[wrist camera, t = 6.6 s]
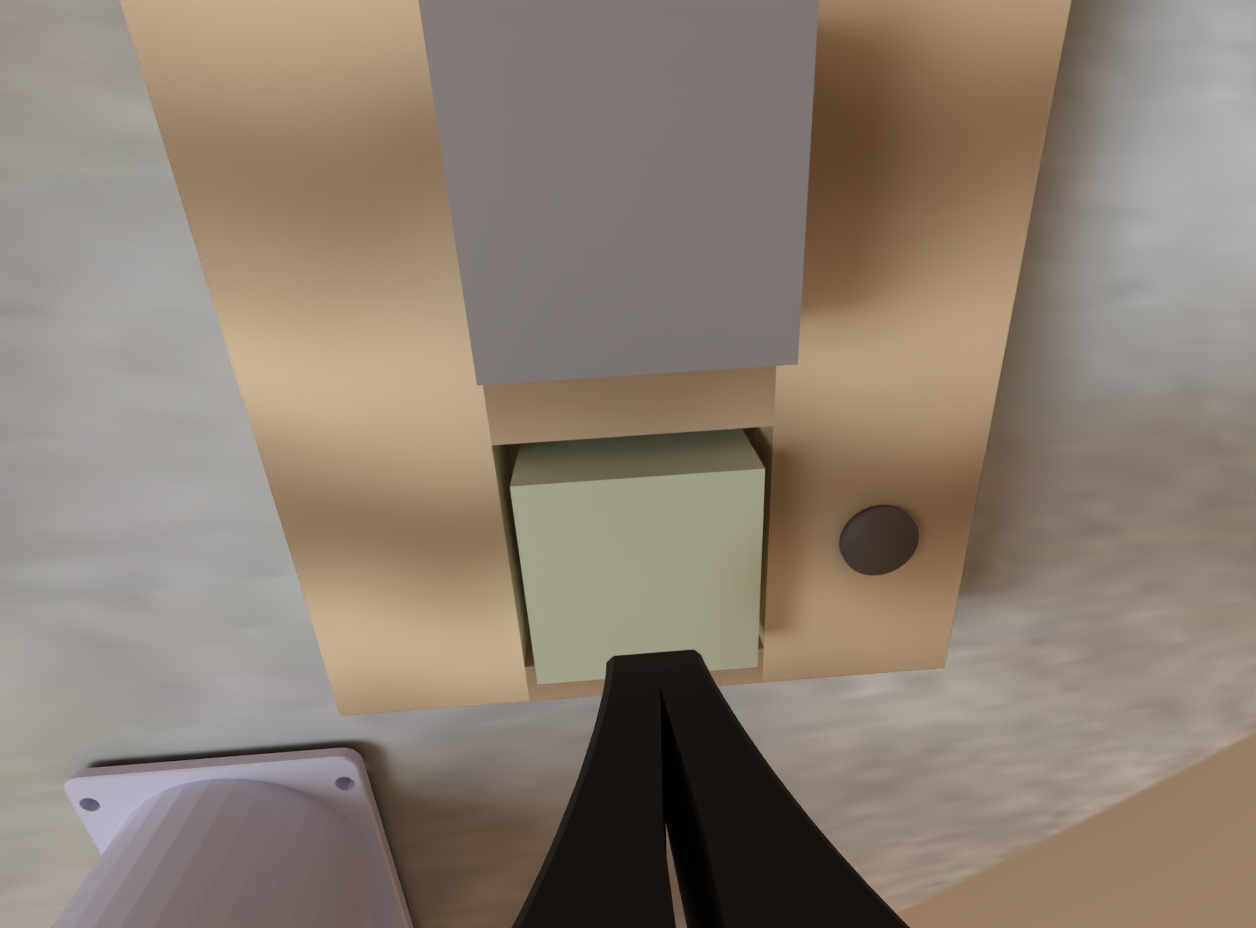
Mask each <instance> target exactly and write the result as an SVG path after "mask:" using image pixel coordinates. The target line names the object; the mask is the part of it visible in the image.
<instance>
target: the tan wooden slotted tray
mask: <svg viewBox="0 0 1256 928" xmlns="http://www.w3.org/2000/svg"><path fill="white" fill-rule="evenodd" d="M120 3H121V6H122V9H123V13H124V16H125V19H126V22H127V26H128V29H129V32H130V35H131V39H132V42H133V45H134V48H135V52H136V55H137V58H138V61H139V64H140V68H141V71H142V74H143V77H144V81H145V84H146V87H147V90H148V94H149V97H150V100H151V103H152V107H153V110H154V113H155V116H156V120H157V123H158V126H159V129H160V132H161V136H162V139H163V142H164V145H165V149H166V152H167V155H168V158H169V162H170V165H171V168H172V171H173V175H174V178H175V181H176V184H177V188H178V191H179V194H180V197H181V200H182V204H183V207H184V210H185V213H186V217H187V220H188V223H189V226H190V230H191V233H192V236H193V239H194V243H195V246H196V249H197V252H198V256H199V259H200V262H201V265H202V268H203V272H204V275H205V278H206V281H207V285H208V288H209V291H210V294H211V298H212V301H213V304H214V307H215V311H216V314H217V317H218V320H219V324H220V327H221V330H222V333H223V336H224V340H225V343H226V346H227V349H228V353H229V356H230V359H231V362H232V366H233V369H234V372H235V375H236V379H237V382H238V385H239V388H240V392H241V395H242V398H243V401H244V404H245V408H246V411H247V414H248V417H249V421H250V424H251V427H252V430H253V434H254V437H255V440H256V443H257V447H258V450H259V453H260V456H261V459H262V463H263V466H264V469H265V472H266V476H267V479H268V482H269V485H270V489H271V492H272V495H273V498H274V502H275V505H276V508H277V511H278V515H279V518H280V521H281V524H282V527H283V531H284V534H285V537H286V540H287V544H288V547H289V550H290V553H291V557H292V560H293V563H294V566H295V570H296V573H297V576H298V579H299V583H300V586H301V589H302V592H303V595H304V599H305V602H306V605H307V608H308V612H309V615H310V618H311V621H312V625H313V628H314V631H315V634H316V638H317V641H318V644H319V647H320V651H321V654H322V657H323V660H324V663H325V667H326V670H327V673H328V676H329V680H330V683H331V686H332V689H333V693H334V696H335V699H336V702H337V706H338V709H339V712H340V715H341V716H348V715H360V714H373V713H385V712H398V711H410V710H423V709H435V708H448V707H460V706H473V705H485V704H498V703H511V702H523V701H536V700H548V699H561V698H573V697H586V696H598V695H602V694H603V689H604V683H605V679H600V680H587V681H575V682H562V683H549V684H537V677H536V670H535V663H534V656H533V649H532V641H531V634H530V627H529V620H528V613H527V606H526V598H525V591H524V584H523V577H522V570H521V563H520V556H519V548H518V541H517V534H516V527H515V520H514V513H513V506H512V498H511V491H510V484H511V480H512V475H513V471H514V467H515V463H516V458H517V454H518V450H519V445H520V443H533V442H548V441H562V440H577V439H592V438H606V437H621V436H636V435H650V434H665V433H680V432H694V431H709V430H724V429H738V428H742V429H743V431H744V433H745V434H746V436H747V438H748V440H749V441H750V443H751V445H752V447H753V448H754V450H755V452H756V454H757V455H758V457H759V459H760V461H761V462H762V464H763V466H764V468H765V485H764V510H763V536H762V561H761V586H760V612H759V637H758V663H757V667H752V668H739V669H726V670H714V671H709V672H710V674H711V676H712V678H713V679H714V681H715V683H716V685H717V686H724V685H736V684H749V683H761V682H774V681H786V680H799V679H812V678H824V677H837V676H849V675H862V674H874V673H887V672H899V671H912V670H924V669H937V668H944V667H945V662H946V657H947V651H948V646H949V641H950V636H951V630H952V625H953V620H954V615H955V609H956V604H957V599H958V594H959V588H960V583H961V578H962V573H963V567H964V562H965V557H966V552H967V546H968V541H969V536H970V531H971V525H972V520H973V515H974V510H975V504H976V499H977V494H978V489H979V483H980V478H981V473H982V468H983V462H984V457H985V452H986V447H987V441H988V436H989V431H990V426H991V420H992V415H993V410H994V405H995V399H996V394H997V389H998V384H999V378H1000V373H1001V368H1002V363H1003V357H1004V352H1005V347H1006V342H1007V336H1008V331H1009V326H1010V321H1011V315H1012V310H1013V305H1014V300H1015V294H1016V289H1017V284H1018V279H1019V273H1020V268H1021V263H1022V258H1023V252H1024V247H1025V242H1026V237H1027V231H1028V226H1029V221H1030V216H1031V210H1032V205H1033V200H1034V195H1035V189H1036V184H1037V179H1038V174H1039V168H1040V163H1041V158H1042V153H1043V147H1044V142H1045V137H1046V132H1047V126H1048V121H1049V116H1050V111H1051V105H1052V100H1053V95H1054V90H1055V84H1056V79H1057V74H1058V69H1059V63H1060V58H1061V53H1062V48H1063V42H1064V37H1065V32H1066V27H1067V21H1068V16H1069V11H1070V6H1071V0H819V8H818V25H817V42H816V59H815V77H814V94H813V111H812V128H811V146H810V163H809V180H808V197H807V215H806V232H805V249H804V266H803V284H802V301H801V318H800V336H799V353H798V365H782V366H767V367H752V368H737V369H721V370H706V371H691V372H676V373H660V374H645V375H630V376H615V377H599V378H584V379H569V380H554V381H538V382H523V383H508V384H493V385H477V382H476V376H475V369H474V363H473V356H472V349H471V343H470V336H469V330H468V323H467V317H466V310H465V303H464V297H463V290H462V284H461V277H460V271H459V264H458V257H457V251H456V244H455V238H454V231H453V225H452V218H451V211H450V205H449V198H448V192H447V185H446V179H445V172H444V165H443V159H442V152H441V146H440V139H439V133H438V126H437V119H436V113H435V106H434V100H433V93H432V87H431V80H430V73H429V67H428V60H427V54H426V47H425V41H424V34H423V27H422V21H421V14H420V8H419V1H418V0H120Z"/></svg>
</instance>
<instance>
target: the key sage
mask: <svg viewBox="0 0 1256 928" xmlns="http://www.w3.org/2000/svg"><path fill="white" fill-rule="evenodd" d="M764 485H765V468H764V466H763V464H762V462H761V461H760V459H759V457H758V455H757V454H756V452H755V450H754V448H753V447H752V445H751V443H750V441H749V440H748V438H747V436H746V434H745V433H744V431H743V429H742V428H738V429H724V430H709V431H694V432H680V433H665V434H650V435H636V436H621V437H606V438H592V439H577V440H562V441H548V442H533V443H520V445H519V450H518V454H517V458H516V463H515V467H514V471H513V475H512V480H511V484H510V491H511V498H512V506H513V513H514V520H515V527H516V534H517V541H518V548H519V556H520V563H521V570H522V577H523V584H524V591H525V598H526V606H527V613H528V620H529V627H530V634H531V641H532V649H533V656H534V663H535V670H536V677H537V684H549V683H562V682H575V681H587V680H600V679H605V676H606V662H607V661H608V660H610V659H611V658H612V657H613V656H617V655H630V654H642V653H654V652H667V651H679V650H692V649H694V650H696V651H697V652H698V653H699V654H701V655H702V658H703V660H704V662H705V664H706V666H707V668H708V670H709V671H714V670H726V669H739V668H752V667H757V663H758V637H759V612H760V586H761V561H762V536H763V510H764Z"/></svg>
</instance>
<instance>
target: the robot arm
mask: <svg viewBox="0 0 1256 928" xmlns="http://www.w3.org/2000/svg"><path fill="white" fill-rule="evenodd" d="M346 777H348V778H346ZM64 789H65V792H66V794H67V796H68V798H69V800H70V801H71V803H72V805H73V807H74V808H75V810H76V812H77V814H78V815H79V817H80V819H81V820H82V822H83V824H84V826H85V827H86V829H87V831H88V833H89V834H90V836H91V838H92V840H93V841H94V843H95V845H96V846H97V848H98V850H99V852H100V853H101V855H102V856H101V857H100V858H99V860H98V861H97V863H96V864H95V866H94V867H93V868H92V870H91V871H90V873H89V874H88V876H87V877H86V878H85V880H84V881H83V883H82V884H81V886H80V887H79V889H78V890H77V891H76V893H75V894H74V896H73V897H72V899H71V900H70V901H69V903H68V904H67V906H66V907H65V909H64V910H63V912H62V913H61V914H60V916H59V917H58V919H57V920H56V922H55V923H54V924H53V926H52V927H51V928H414V927H413V924H412V921H411V917H410V914H409V911H408V907H407V904H406V901H405V898H404V894H403V891H402V888H401V884H400V881H399V878H398V874H397V871H396V868H395V864H394V861H393V858H392V854H391V851H390V848H389V844H388V841H387V838H386V834H385V831H384V828H383V824H382V821H381V818H380V815H379V811H378V808H377V805H376V801H375V798H374V795H373V791H372V788H371V785H370V781H369V778H368V775H367V771H366V768H365V765H364V761H363V759H362V757H361V755H360V754H359V753H358V752H356V751H355V750H353V749H350V748H330V749H318V750H305V751H293V752H281V753H268V754H256V755H244V756H231V757H219V758H207V759H194V760H182V761H170V762H157V763H145V764H133V765H120V766H108V767H96V768H84V769H80V770H77V771H76V772H74V773H73V774H72V776H71V777H70V778H69V779H68V780H67V782H66V783H65V786H64ZM666 826H667V831H668V836H669V841H670V846H671V851H672V855H673V860H674V865H675V870H676V875H677V880H678V885H679V890H680V895H681V900H682V904H683V909H684V914H685V919H686V924H687V928H910V927H909V926H907V924H906V923H905V922H904V921H902V919H901V918H900V917H899V916H898V915H897V914H896V913H895V912H894V911H893V910H892V909H891V908H890V907H889V906H888V905H887V904H886V903H885V902H884V901H883V900H882V899H881V897H880V896H879V895H878V894H877V893H876V892H875V891H874V890H873V889H872V888H871V887H870V886H869V885H868V884H867V883H866V882H865V881H864V879H863V878H862V877H861V876H860V875H859V874H858V873H857V872H856V871H855V870H854V868H853V867H852V866H851V865H850V864H849V863H848V862H847V861H846V860H845V858H844V857H843V856H842V855H841V854H840V853H839V852H838V851H837V849H836V848H835V847H834V846H833V845H832V844H831V842H830V841H829V840H828V839H827V838H826V837H825V836H824V834H823V833H822V832H821V831H820V830H819V828H818V827H817V826H816V825H815V824H814V822H813V821H812V820H811V819H810V817H809V816H808V815H807V814H806V812H805V811H804V810H803V809H802V807H801V806H800V805H799V804H798V802H797V801H796V800H795V799H794V797H793V796H792V795H791V793H790V792H789V791H788V790H787V788H786V787H785V786H784V784H783V783H782V782H781V780H780V779H779V778H778V776H777V775H776V774H775V772H774V771H773V770H772V768H771V767H770V766H769V764H768V763H767V761H766V760H765V759H764V757H763V756H762V754H761V753H760V751H759V750H758V749H757V747H756V746H755V744H754V743H753V741H752V740H751V739H750V737H749V736H748V734H747V733H746V731H745V730H744V728H743V727H742V725H741V724H740V722H739V721H738V719H737V718H736V716H735V715H734V713H733V711H732V710H731V708H730V707H729V705H728V703H727V702H726V700H725V698H724V697H723V695H722V693H721V692H720V690H719V688H718V687H717V685H716V683H715V681H714V679H713V678H712V676H711V674H710V672H709V670H708V668H707V666H706V664H705V662H704V660H703V658H702V655H701V654H699V653H698V652H697V651H696V650H694V649H692V650H679V651H667V652H654V653H642V654H630V655H617V656H613V657H612V658H611V659H610V660H608V661H607V662H606V676H605V683H604V689H603V694H602V699H601V703H600V708H599V712H598V715H597V719H596V723H595V727H594V731H593V734H592V737H591V740H590V743H589V746H588V749H587V752H586V756H585V759H584V762H583V765H582V768H581V771H580V774H579V777H578V780H577V782H576V785H575V788H574V790H573V793H572V795H571V798H570V800H569V803H568V805H567V808H566V811H565V813H564V816H563V818H562V821H561V823H560V826H559V828H558V831H557V833H556V836H555V838H554V840H553V843H552V845H551V847H550V850H549V852H548V854H547V856H546V859H545V861H544V863H543V865H542V867H541V870H540V872H539V874H538V876H537V878H536V880H535V882H534V884H533V886H532V889H531V891H530V893H529V895H528V897H527V899H526V901H525V903H524V905H523V907H522V909H521V911H520V913H519V915H518V917H517V919H516V921H515V923H514V925H513V927H512V928H676V926H675V918H674V911H673V903H672V896H671V888H670V880H669V873H668V865H667V857H666Z"/></svg>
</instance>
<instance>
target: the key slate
mask: <svg viewBox="0 0 1256 928" xmlns="http://www.w3.org/2000/svg"><path fill="white" fill-rule="evenodd" d="M418 1H419V8H420V14H421V21H422V27H423V34H424V41H425V47H426V54H427V60H428V67H429V73H430V80H431V87H432V93H433V100H434V106H435V113H436V119H437V126H438V133H439V139H440V146H441V152H442V159H443V165H444V172H445V179H446V185H447V192H448V198H449V205H450V211H451V218H452V225H453V231H454V238H455V244H456V251H457V257H458V264H459V271H460V277H461V284H462V290H463V297H464V303H465V310H466V317H467V323H468V330H469V336H470V343H471V349H472V356H473V363H474V369H475V376H476V382H477V385H493V384H508V383H523V382H538V381H554V380H569V379H584V378H599V377H615V376H630V375H645V374H660V373H676V372H691V371H706V370H721V369H737V368H752V367H767V366H782V365H798V353H799V336H800V318H801V301H802V284H803V266H804V249H805V232H806V215H807V197H808V180H809V163H810V146H811V128H812V111H813V94H814V77H815V59H816V42H817V25H818V8H819V0H418Z"/></svg>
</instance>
